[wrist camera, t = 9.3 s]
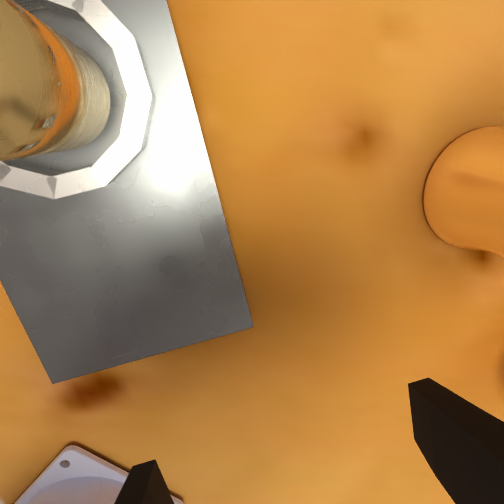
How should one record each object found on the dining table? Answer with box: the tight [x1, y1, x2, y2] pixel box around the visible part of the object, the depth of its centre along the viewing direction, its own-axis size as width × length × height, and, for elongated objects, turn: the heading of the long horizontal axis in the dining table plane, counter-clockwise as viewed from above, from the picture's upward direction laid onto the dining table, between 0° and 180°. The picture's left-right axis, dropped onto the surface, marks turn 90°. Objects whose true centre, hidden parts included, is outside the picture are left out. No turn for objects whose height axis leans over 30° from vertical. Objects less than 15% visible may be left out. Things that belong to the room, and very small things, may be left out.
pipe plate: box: [0, 0, 254, 384], centre depth 15 cm, size 18×10×2 cm, turn 13°
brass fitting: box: [0, 0, 111, 161], centre depth 11 cm, size 4×4×7 cm
